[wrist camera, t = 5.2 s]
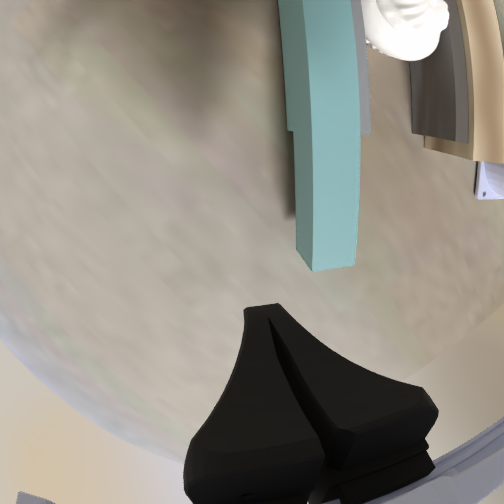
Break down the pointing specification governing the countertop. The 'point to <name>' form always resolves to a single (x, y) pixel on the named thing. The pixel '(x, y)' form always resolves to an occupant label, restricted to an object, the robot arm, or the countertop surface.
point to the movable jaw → (326, 123)
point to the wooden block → (462, 86)
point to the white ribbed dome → (404, 26)
